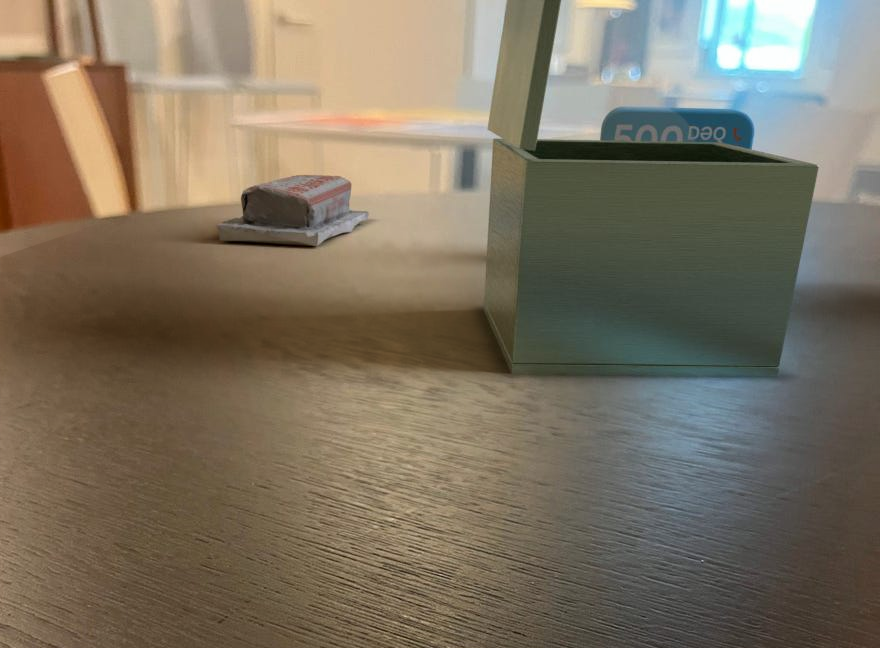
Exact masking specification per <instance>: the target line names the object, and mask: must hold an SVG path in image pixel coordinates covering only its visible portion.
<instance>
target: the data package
mask: <svg viewBox="0 0 880 648" xmlns="http://www.w3.org/2000/svg"><path fill="white" fill-rule="evenodd" d="M754 138H755V125H754V122H753V120H752V118H751V117H750V116H749V114H747V113H745V112H743V111H739V110H736V109H731V108H705V107H703V108H701V107H700V108H699V107H698V108H697V107H661V106H655V107H654V106H619V107H616V108H615V107H614V109H611V110H610V111H609V112H608V113H607V114H606V115H605V117H604V119H603V121H602V123H601V127H600V137H599V140H606V141H664V142H721V143H725V144H729V145H734V146H738V147H742V148H747V149H751V150H753V144H754Z"/></svg>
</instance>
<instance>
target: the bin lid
mask: <svg viewBox="0 0 880 648" xmlns="http://www.w3.org/2000/svg"><path fill="white" fill-rule="evenodd" d="M561 4H562V0H506V3H505V10H504V17H503V23H502V31H501V35H500V36H501V37H500V42H499V43H500V44H499V51H498V57H497V62H496V70H495V76H494V82H493V89H492V95H491V101H490V102H491V103H490V110H489V115H488V123H487V131H489V132H491V133H492V134H494V135H496V136H498V137H499V138H500V139H504V140H506V141H508V142H509V143H511V144H513V145H514V146H516V147H518V148H519V149H524V150H531V151H535V149H536V143H537V139H538V138H539V137H538V136H539V131H540V125H541V119H542V113H543V107H544V102H545V97H546V92H547V91H546V90H547V85H548V79H549V74H550V68H551V62H552V57H553V50H554V45H555V40H556V32H557V27H558V21H559V16H560V11H561Z"/></svg>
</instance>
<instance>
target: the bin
mask: <svg viewBox="0 0 880 648" xmlns="http://www.w3.org/2000/svg"><path fill="white" fill-rule="evenodd" d="M819 167H820V166H819V165H818V164H815V163H811V162H807V161H802V160H799V159H795V158H794V159H793V158H790V157H785V156H781V155H778V154H773V153H768V152H765V151H760V150H755V149H752V150H751V149H747V148H742V147H738V146H734V145H729V144H725V143H721V142H664V141H606V140H600V139H599V140H598V139H540V138H537V143H536V149H535V151H531V150H524V149H519V148H518V147H516V146H514V145H513V144H511V143H509V142H508V141H506V140H504V139H503V138H493V139H492V152H491V171H490V187H489V188H490V190H489V207H488V223H487V225H488V226H487V228H488V229H487V240H486V241H487V245H486V258H485V259H486V262H485V278H484V279H485V280H484V298H483V301H484V302H483V313H484V314H485V316H486V319H487V321H488V323H489V326H490V328H491V330H492V332H493V334H494V337H495V340H496V341H497V344H498V346H499V348H500V350H501V353H502V355H503V358H504V360H505V363H506V364H507V367H508V370H509V372H510V374H511V375H574V376H576V375H578V376H579V375H580V376H581V375H582V376H583V375H584V376H586V375H587V376H658V377H660V376H662V377H663V376H664V377H665V376H667V377H668V376H669V377H670V376H671V377H682V376H683V377H754V378H757V377H758V378H760V377H761V378H777V377H778V375H779V369H780V367H779V366H780V363H781V358H782V354H783V350H784V349H783V348H784V343H785V338H786V333H787V328H788V323H789V318H790V314H791V309H792V303H793V299H794V293H795V288H796V285H797V284H796V283H797V279H798V273H799V268H800V264H801V258H802V254H803V248H804V242H805V239H806V234H807V233H806V232H807V228H808V223H809V218H810V212H811V208H812V203H813V199H814V198H813V197H814V193H815V189H816V188H815V187H816V183H817V178H818V173H819Z"/></svg>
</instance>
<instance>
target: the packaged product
mask: <svg viewBox="0 0 880 648" xmlns="http://www.w3.org/2000/svg"><path fill="white" fill-rule="evenodd" d="M351 194H352V182H351V181H350V180H348V179H346V178H345V177H342V176H341V175H322V174H299V175H298V174H296V175H292V176H289V177H284V178H279V179H276V180H275V179H274V180H272V181H268V182H265V183H264V182H263V183H259V184H256V185H253V186H250V187H247V188H245V189H244V190H243V191H242V192H241V196H240V202H241V203H240V204H241V208H242V216H240V217H234V218H232V219H228V220H226V221H225V220H224V221H222V222H219V223H217V224H216V227H217V233H218V237H219V241H223V242H236V243H238V242H240V243H253V244H254V243H255V244H256V243H257V244H271V245H272V244H273V245H286V246H287V245H288V246H291V245H292V246H304V247H305V246H306V247H318V246H320V245H321V244H322V243H323V242H324V241H326V240H328V239H331V238H333V237H336V236H338V235H341V234H345V233H346V234H347V233H351V232H352V231H353V229H354V228H355V227H356V226H359V225H360V224H362V223H364V222H366V221H367V220H368V218H369V216H370V213H369V211H368V210H352V209H350V199H351Z"/></svg>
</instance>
